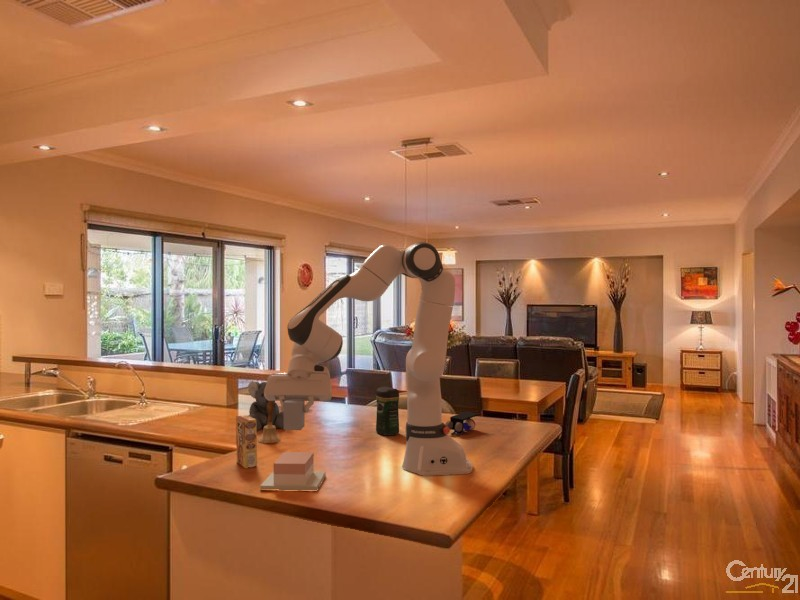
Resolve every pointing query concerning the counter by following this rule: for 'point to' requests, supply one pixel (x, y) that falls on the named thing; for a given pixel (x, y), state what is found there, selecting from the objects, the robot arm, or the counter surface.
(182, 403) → the counter surface
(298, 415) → the slate brick
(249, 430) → the candy box
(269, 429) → the hand bell
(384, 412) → the coffee jar
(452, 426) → the figurine character
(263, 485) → the brick tower base
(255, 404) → the koala plush
